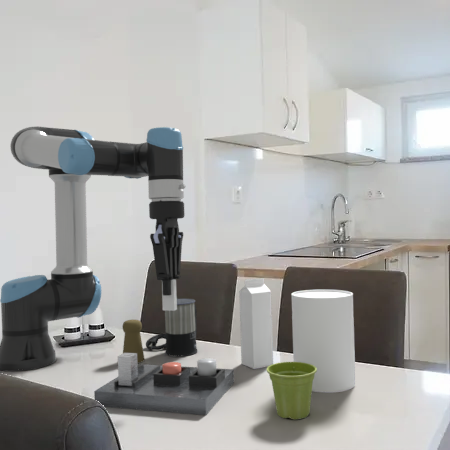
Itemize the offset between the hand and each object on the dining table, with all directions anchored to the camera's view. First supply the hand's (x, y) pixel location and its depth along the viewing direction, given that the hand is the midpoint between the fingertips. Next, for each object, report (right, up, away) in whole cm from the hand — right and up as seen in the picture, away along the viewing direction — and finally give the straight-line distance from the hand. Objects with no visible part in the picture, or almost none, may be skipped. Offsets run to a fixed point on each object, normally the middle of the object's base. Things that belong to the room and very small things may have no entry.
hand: (169, 309), depth 109 cm
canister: (+34, -17, +5) cm, 39 cm away
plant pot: (+25, -18, -13) cm, 33 cm away
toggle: (-8, -15, -2) cm, 18 cm away
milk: (+20, -18, +20) cm, 34 cm away
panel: (0, -18, 0) cm, 18 cm away
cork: (-13, -19, +28) cm, 36 cm away
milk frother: (-4, -19, +38) cm, 42 cm away
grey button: (+8, -13, -2) cm, 16 cm away
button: (+1, -15, 0) cm, 15 cm away
